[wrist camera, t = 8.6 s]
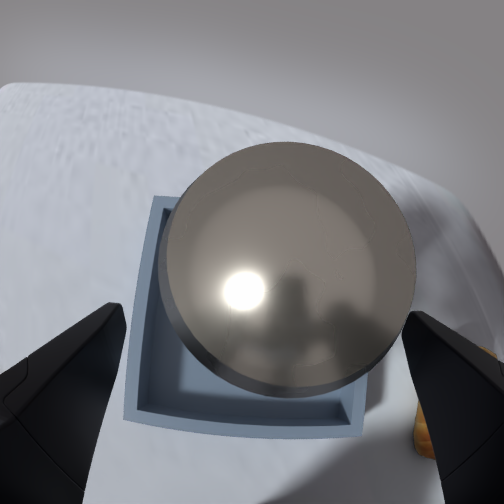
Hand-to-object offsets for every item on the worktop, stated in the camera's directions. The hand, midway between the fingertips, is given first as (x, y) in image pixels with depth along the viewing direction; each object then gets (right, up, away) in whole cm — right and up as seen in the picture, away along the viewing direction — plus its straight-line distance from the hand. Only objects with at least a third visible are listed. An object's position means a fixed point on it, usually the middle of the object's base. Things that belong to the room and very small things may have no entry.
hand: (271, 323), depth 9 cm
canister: (-1, -2, +11) cm, 11 cm away
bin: (-1, -3, +11) cm, 12 cm away
